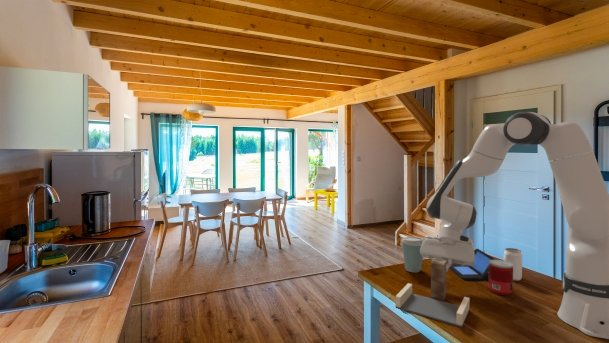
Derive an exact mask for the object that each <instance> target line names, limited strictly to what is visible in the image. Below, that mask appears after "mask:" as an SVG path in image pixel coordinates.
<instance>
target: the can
mask: <svg viewBox="0 0 609 343" xmlns="http://www.w3.org/2000/svg"><path fill="white" fill-rule="evenodd" d="M503 261H507V262H510V263H512V264H513V281H521V280H522V276H523V253H522V250H520V249H518V248H515V247H514V248H513V247H507V248H505V250H504V252H503Z"/></svg>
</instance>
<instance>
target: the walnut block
mask: <svg viewBox="0 0 609 343" xmlns="http://www.w3.org/2000/svg"><path fill="white" fill-rule="evenodd" d="M430 264H431V265H430V298H432V299H436V300H439V301H444V300H445V299H446V297H447V271H446V265H447V264H448V262H447V260H445V259H439V258H433V259H431V260H430Z"/></svg>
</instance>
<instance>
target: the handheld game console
mask: <svg viewBox="0 0 609 343" xmlns="http://www.w3.org/2000/svg"><path fill="white" fill-rule="evenodd" d="M474 252H475V264H474V265H473V266H469V265H463V264H458V263H453V264H452V265H451V266H450V267H449V268H448V269H450V270H451V271H452V272H453V273H455V274H456V275H457V276H458V277H460V278H461V279H462V280H463V281H486V277H487V275H489V261H490V260H496V259H495V258H494V257H492V256H490V255H489V254H487V253H486V252H484V251H482V250H480V248H474Z"/></svg>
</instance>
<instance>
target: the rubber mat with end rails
mask: <svg viewBox="0 0 609 343" xmlns="http://www.w3.org/2000/svg"><path fill="white" fill-rule="evenodd" d="M470 299H471V298H470V297H466V296H464V297H463V299H462V301H461V303H460V305H457V304H454V303H450V302H447V301H444V300H439V299H435V298H431V297H428V296H423V295H421V294H416V293H413V283H409V282H408V283H406V285H405V286H404V287H403V288H401V290H400V291H398V293H397V294H396V295H395V309H399V310H402V311H404V312H409V313H412V314H415V315H419V316H421V317H426V318H429V319H432V320H435V321H439V322H442V323H445V324H447V325H452V326H455V327H459V328H463V325H464V323H465V321H466V319H467V317H468V314H469V312H470Z"/></svg>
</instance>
